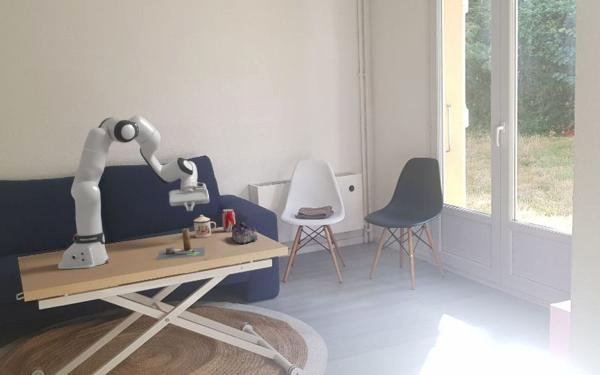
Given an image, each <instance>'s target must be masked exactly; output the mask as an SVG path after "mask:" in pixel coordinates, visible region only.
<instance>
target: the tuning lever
mask: <svg viewBox="0 0 600 375" xmlns="http://www.w3.org/2000/svg"><path fill="white" fill-rule="evenodd" d="M181 232H182V242H183V243H182V244H183V249H184V250H178V249H176V247H173V246H172V247H166V248H165V251H166V254H173V253H175V252H191V253H195V252H196V250H191V248H192V247H191V234H190V228H183V229H181Z"/></svg>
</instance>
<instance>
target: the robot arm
mask: <svg viewBox="0 0 600 375" xmlns="http://www.w3.org/2000/svg"><path fill="white" fill-rule="evenodd" d="M133 140H135V142H136V143H138V145H139V146H140V147H139V152H140V155H141V157H142V159H143V160H144V161H145V163H146V164H147V165H148V167H149V168H150V170H151V171H152V172H153V174H154V175H155V178H156V180H157V181H158V182H159V183H160V184H162V185H165V186H168V185H170V184H172V183H173V182H174V181H177V180H178V179H180V180H181V181H180V189H178V188H177V189H172V190H169V192H168V197H169V200H168V201H169V202H168V203H169V205H170V206H171V207H176V206H184V207H185V208H186V212H193V210H194V207H195V206H196V205H200V204H201V205H202V204H208V203H210V196H209V191H208V189H207V184H206V183H205V182H198V176H199V175H198V168H197V165H196V164H195V163H194V162H193V161H191V160H187V159H186V158H183V157H178V158H176V159H174V160H171V161H170V162H168V163H166V164H161V163H160V162H159V160H158V159H157V158H156V156H155V155H154V154H155V152H157V150H158V149H159V147H160V145H161V142H162V135H161V133H160V132H159V131H158V129H157V128H156V127H155V126H153V124H151V123H150V122H149V121H148V120H147V119H145V118H144V117H142V116H140V115H138V114H137V115H134V116H131V117H129V119H123V118H120V117H107V118H105V119H103V120H102V122H100V124H99V126H97V127H93V128H91V129H90V130H89V132H88V134H87V135H86V138H85V141H84V144H83V146H82V150H81V155H80V160H79V165H78V167H77V169H76V172H75V175H74V179H73V183H72V185H71V189H70V194H71V196H72V198H73V199H74V204H75V206H74V207H75V224H76V225H75V226H76V233H75V234H74V236H73V237H72V241H73V243H72V244H71V245H70V246H68V248H67V249H66V250H65V251H64V252H63V255H62V260H61V262H59V263H58V264H57V269H58V270H65V269H67V270H69V269H70V270H71V269H90V268H93V267H96V266H100V265H103V264H104V265H105V264H106V263H108V262H109V261H108V259H109V255H108V253H107V250H106V246H105V242H106V241H105V233H104V231H103V225H102V224H103V222H102V214H101V212H102V211H101V210H102V205H101V204H102V203H101V190H100V188H99V183H100V181H101V177H102V175H103V173H104V172H105V171H104V170H105V166H106V162H107V159H108V154H109V148H110V146H111V145H112V143H113V142H116V143H123V144H125V143H130V142H132V141H133ZM189 205H190V206H189Z"/></svg>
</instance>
